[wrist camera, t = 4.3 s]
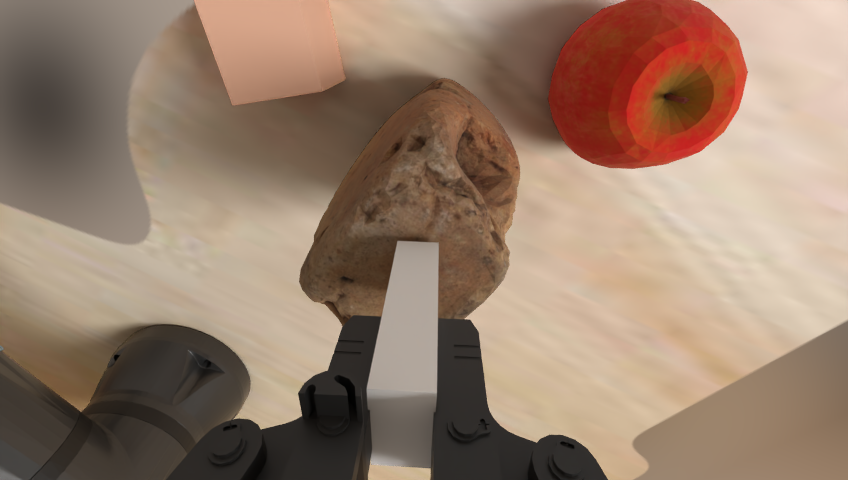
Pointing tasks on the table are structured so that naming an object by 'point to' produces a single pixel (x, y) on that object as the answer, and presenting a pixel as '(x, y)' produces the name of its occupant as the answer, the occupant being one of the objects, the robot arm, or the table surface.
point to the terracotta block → (272, 47)
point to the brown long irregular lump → (420, 207)
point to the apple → (647, 83)
